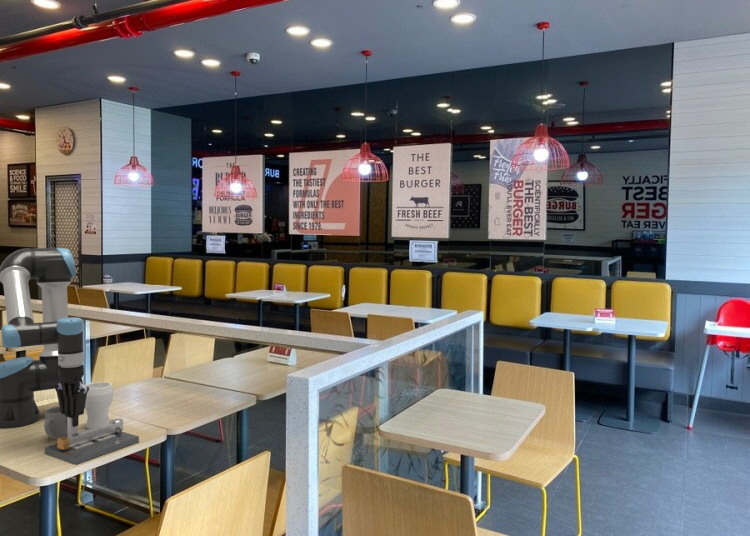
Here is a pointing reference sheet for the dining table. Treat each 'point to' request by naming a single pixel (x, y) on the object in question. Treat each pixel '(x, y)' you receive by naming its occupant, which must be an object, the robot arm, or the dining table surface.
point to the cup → (98, 403)
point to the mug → (55, 423)
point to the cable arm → (90, 434)
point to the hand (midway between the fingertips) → (72, 435)
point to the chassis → (93, 447)
